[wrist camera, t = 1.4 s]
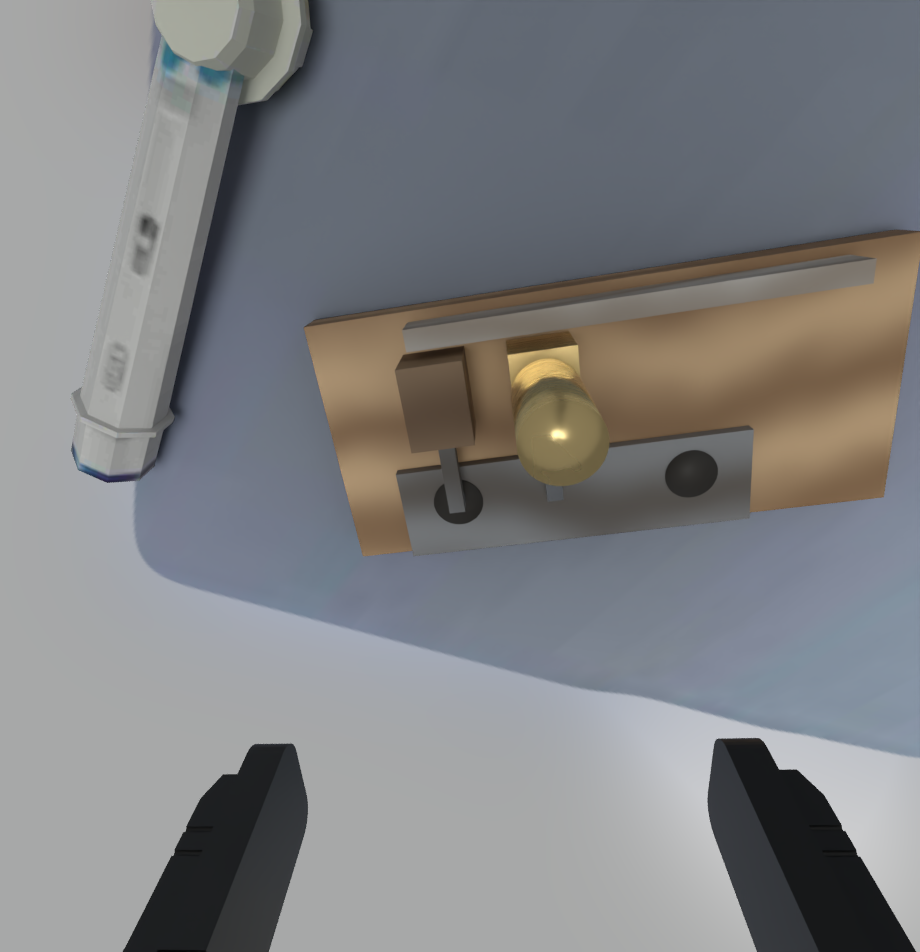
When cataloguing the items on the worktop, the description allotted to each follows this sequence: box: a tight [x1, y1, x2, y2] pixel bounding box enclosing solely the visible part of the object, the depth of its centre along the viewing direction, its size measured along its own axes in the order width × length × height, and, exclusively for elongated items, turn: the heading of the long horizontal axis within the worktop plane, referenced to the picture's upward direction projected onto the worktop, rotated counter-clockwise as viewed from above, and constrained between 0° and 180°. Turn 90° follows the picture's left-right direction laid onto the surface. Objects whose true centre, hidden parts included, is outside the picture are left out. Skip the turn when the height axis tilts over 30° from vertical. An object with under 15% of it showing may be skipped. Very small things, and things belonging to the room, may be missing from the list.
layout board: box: [304, 230, 920, 556], centre depth 30 cm, size 13×28×4 cm, turn 99°
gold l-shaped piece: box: [506, 331, 609, 502], centre depth 26 cm, size 8×3×9 cm, turn 9°
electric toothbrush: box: [71, 0, 313, 483], centre depth 27 cm, size 5×7×25 cm
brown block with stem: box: [395, 346, 476, 513], centre depth 29 cm, size 8×3×3 cm, turn 9°
